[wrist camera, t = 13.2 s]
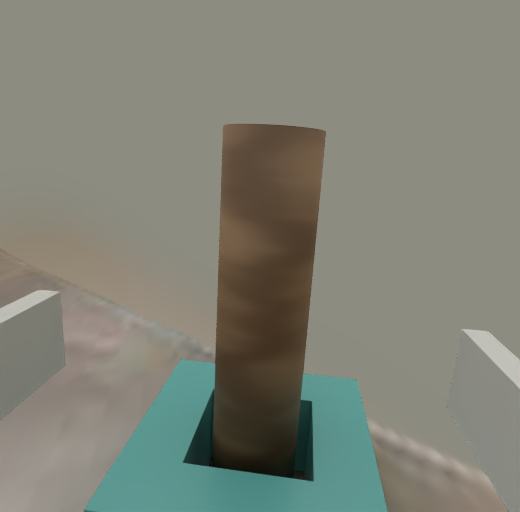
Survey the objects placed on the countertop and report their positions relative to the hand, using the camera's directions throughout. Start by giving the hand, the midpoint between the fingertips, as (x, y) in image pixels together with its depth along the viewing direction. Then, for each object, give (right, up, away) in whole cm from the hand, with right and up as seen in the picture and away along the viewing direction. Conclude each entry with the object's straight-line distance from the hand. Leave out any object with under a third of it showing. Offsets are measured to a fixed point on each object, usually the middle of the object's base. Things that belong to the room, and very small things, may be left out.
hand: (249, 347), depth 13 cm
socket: (0, -11, +9) cm, 14 cm away
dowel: (0, -11, +9) cm, 14 cm away
